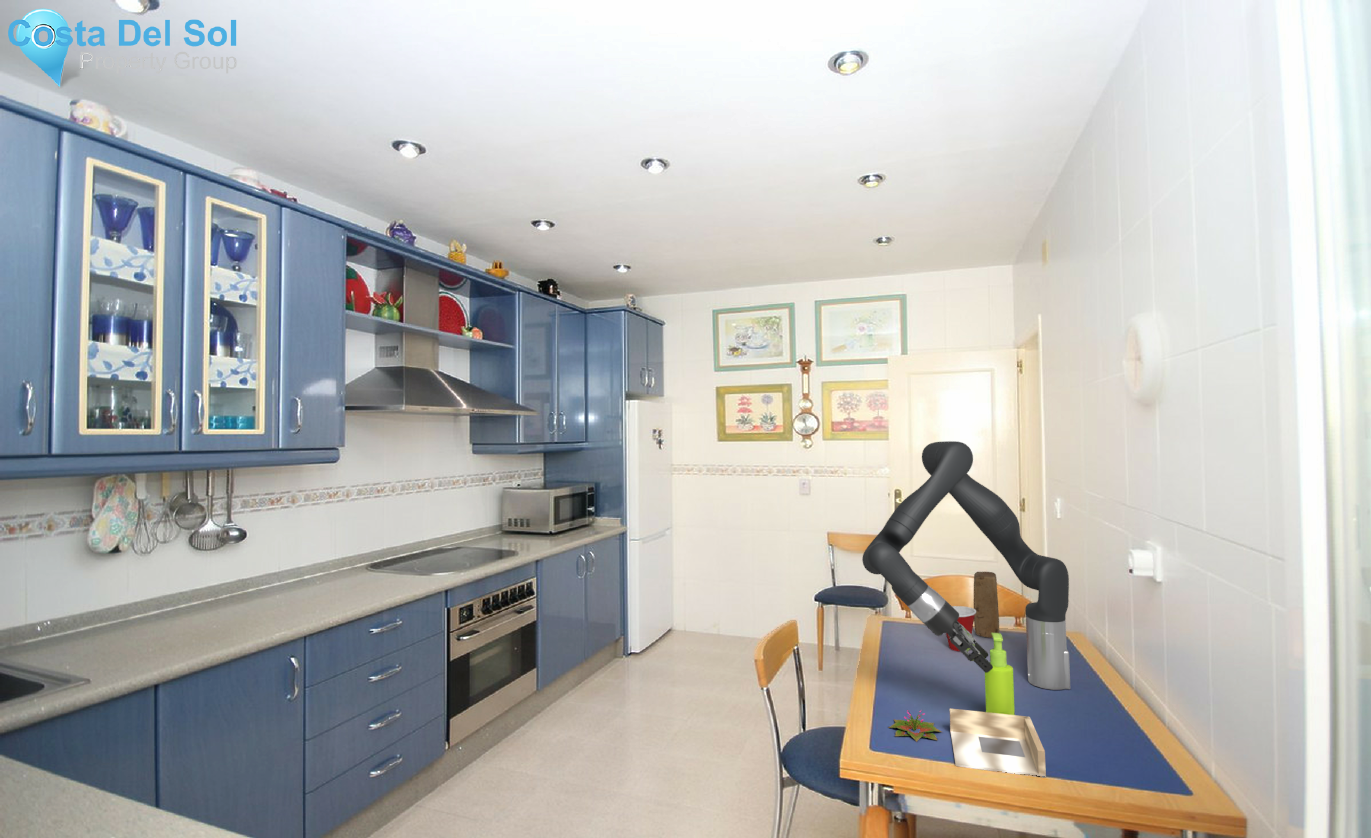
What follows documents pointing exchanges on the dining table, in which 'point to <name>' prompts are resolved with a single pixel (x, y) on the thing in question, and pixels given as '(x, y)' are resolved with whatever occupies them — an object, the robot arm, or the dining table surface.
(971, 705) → the dining table surface
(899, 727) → the lily flower
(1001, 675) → the soap dispenser
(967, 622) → the plastic cup
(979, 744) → the corner arena
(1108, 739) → the dining table surface
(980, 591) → the block
